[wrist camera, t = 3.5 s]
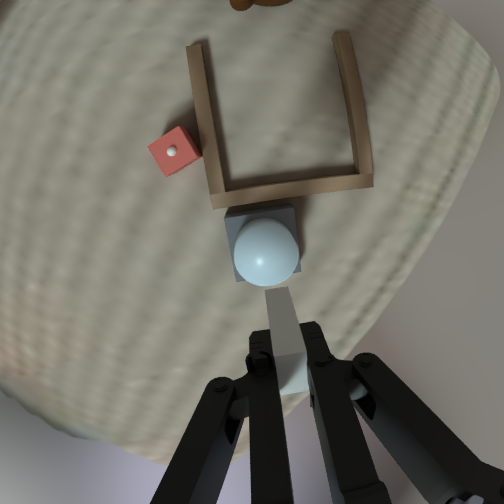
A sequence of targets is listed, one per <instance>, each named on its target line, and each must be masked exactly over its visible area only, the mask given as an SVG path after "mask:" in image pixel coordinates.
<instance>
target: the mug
mask: <svg viewBox="0 0 504 504" xmlns="http://www.w3.org/2000/svg"><path fill="white" fill-rule="evenodd" d="M291 1H292V0H230V4H231V6H232V8H234V9H235V10H237V11H244V10H247V9H249V8H250V7H251V6H252V5H253V4H256V5H260V6H280V5H284V4H286V3H289V2H291Z"/></svg>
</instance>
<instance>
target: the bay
mask: <svg viewBox="0 0 504 504" xmlns="http://www.w3.org/2000/svg"><path fill="white" fill-rule="evenodd" d="M332 39H333V43H334V47H335V52H336V56H337V60H338V65H339V70H340V75H341V80H342V85H343V90H344V96H345V102H346V108H347V114H348V121H349V128H350V135H351V143H352V151H353V160H354V170H355V173H351V174H341V175H331V176H322V177H314V178H305V179H298V180H290V181H283V182H276V183H269V184H262V185H255V186H249V187H243V188H237V189H231V190H226V188H225V182H224V176H223V171H222V165H221V159H220V153H219V147H218V142H217V136H216V130H215V124H214V118H213V112H212V106H211V100H210V93H209V87H208V81H207V75H206V68H205V62H204V56H203V49H202V46H201V44H196V45H191V46H187V47H186V52H187V59H188V66H189V73H190V80H191V86H192V93H193V99H194V105H195V111H196V118H197V124H198V130H199V135H200V141H201V147H202V153H203V158H204V164H205V170H206V175H207V181H208V186H209V191H210V197H211V202H212V207H213V209H219V208H225V207H231V206H237V205H243V204H249V203H255V202H262V201H268V200H275V199H282V198H289V197H296V196H303V195H311V194H319V193H327V192H335V191H343V190H352V189H361V188H370V187H374V185H373V172H372V161H371V151H370V142H369V134H368V127H367V120H366V113H365V107H364V100H363V95H362V89H361V84H360V79H359V74H358V69H357V64H356V60H355V55H354V51H353V47H352V43H351V39H350V35H349V33H348V32H335V33H334V35H333V36H332Z"/></svg>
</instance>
